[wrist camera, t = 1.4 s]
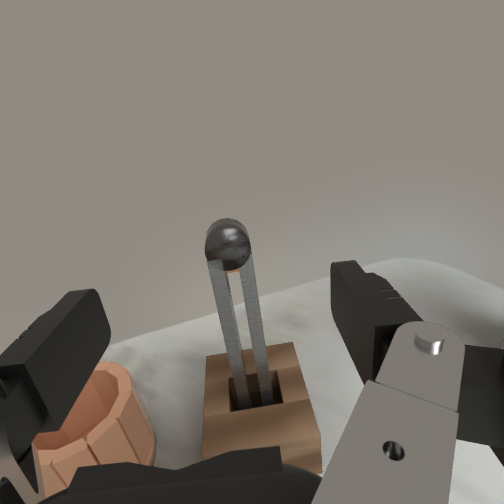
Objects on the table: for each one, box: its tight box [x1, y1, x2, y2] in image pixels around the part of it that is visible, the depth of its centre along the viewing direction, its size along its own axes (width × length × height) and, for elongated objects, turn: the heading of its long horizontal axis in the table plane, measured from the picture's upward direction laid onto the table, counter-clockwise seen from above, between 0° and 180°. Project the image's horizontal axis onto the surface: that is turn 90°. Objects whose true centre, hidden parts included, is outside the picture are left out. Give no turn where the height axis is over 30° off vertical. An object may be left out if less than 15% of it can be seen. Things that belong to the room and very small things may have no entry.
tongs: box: [205, 218, 274, 410], centre depth 26 cm, size 3×3×21 cm
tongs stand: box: [202, 342, 322, 474], centre depth 29 cm, size 10×9×5 cm
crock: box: [33, 362, 156, 498], centre depth 27 cm, size 9×9×8 cm
